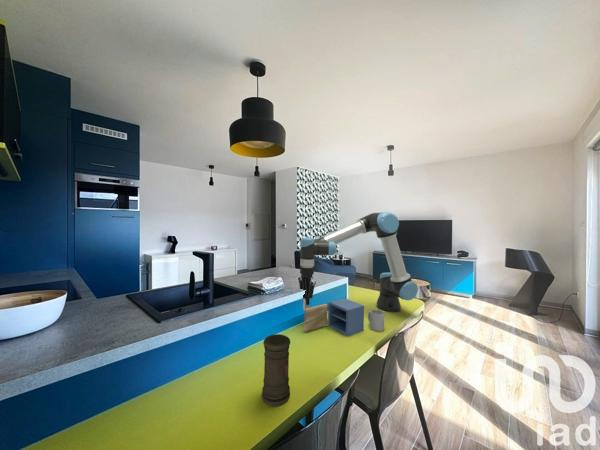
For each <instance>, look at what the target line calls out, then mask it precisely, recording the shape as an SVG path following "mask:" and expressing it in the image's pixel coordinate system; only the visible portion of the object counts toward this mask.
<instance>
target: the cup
mask: <svg viewBox="0 0 600 450" xmlns="http://www.w3.org/2000/svg"><path fill="white" fill-rule="evenodd" d="M367 319H368V320H367V321H368V323H369V328H370V330H372V331H374V332H379V333H380V332H383V331H384V330H385V310H381V309H376V308H375V309H370V310H369V311H368V313H367Z"/></svg>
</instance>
